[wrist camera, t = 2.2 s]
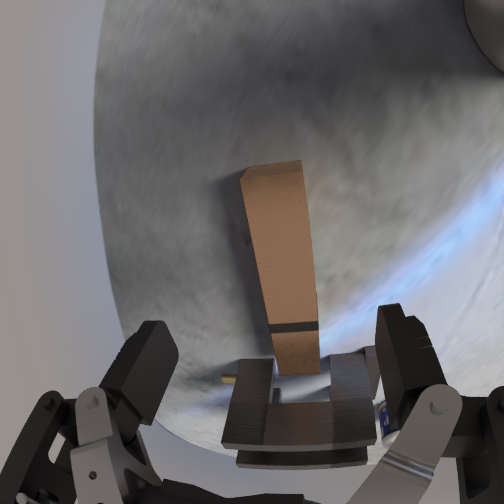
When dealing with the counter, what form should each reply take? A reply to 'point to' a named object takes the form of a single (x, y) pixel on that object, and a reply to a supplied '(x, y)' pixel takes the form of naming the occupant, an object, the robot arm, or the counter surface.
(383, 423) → the pill bottle
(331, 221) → the counter surface
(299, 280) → the tall wooden block
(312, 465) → the dark two-tier wooden rack
